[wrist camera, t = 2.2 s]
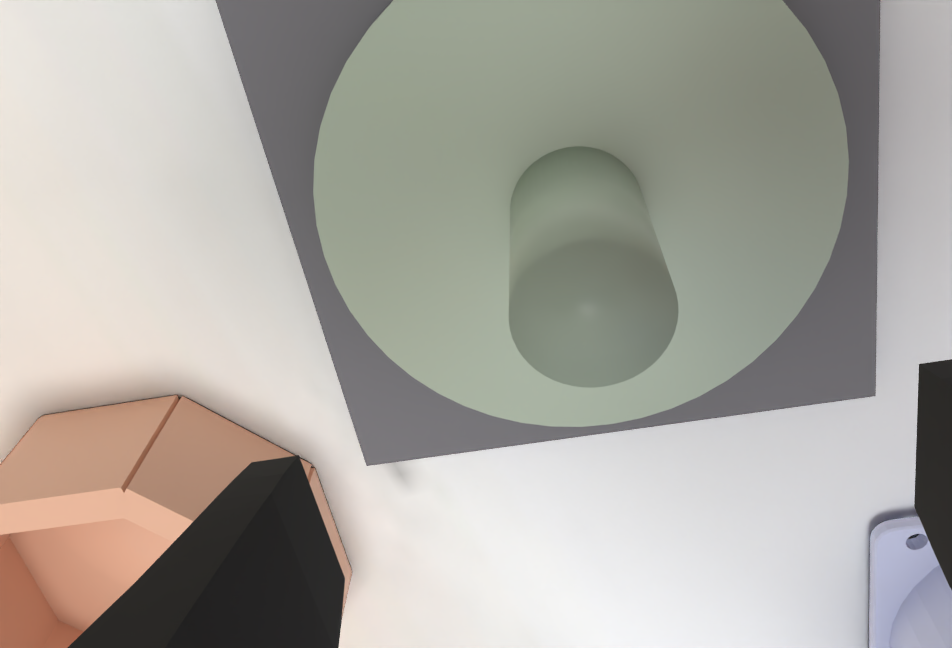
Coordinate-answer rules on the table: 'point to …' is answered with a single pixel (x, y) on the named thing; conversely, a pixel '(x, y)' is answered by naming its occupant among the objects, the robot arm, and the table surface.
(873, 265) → the mat
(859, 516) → the table surface
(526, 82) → the lid
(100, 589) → the bowl
